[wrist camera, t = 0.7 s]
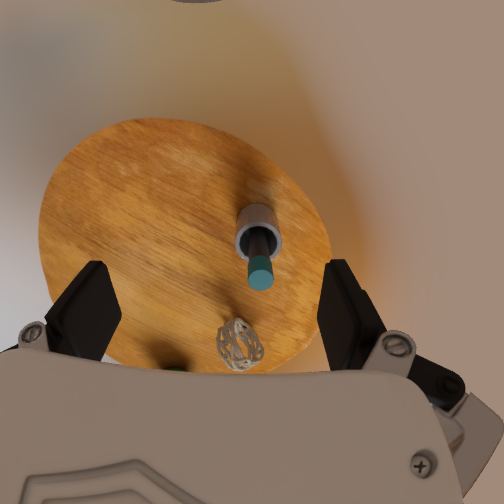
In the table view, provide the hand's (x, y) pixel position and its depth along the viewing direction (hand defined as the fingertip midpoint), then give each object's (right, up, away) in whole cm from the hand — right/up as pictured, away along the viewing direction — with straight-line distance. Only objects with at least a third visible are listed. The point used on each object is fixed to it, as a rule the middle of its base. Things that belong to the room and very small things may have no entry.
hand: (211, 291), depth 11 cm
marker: (+2, +5, +23) cm, 24 cm away
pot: (+2, +5, +24) cm, 24 cm away
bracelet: (0, -10, +32) cm, 34 cm away
